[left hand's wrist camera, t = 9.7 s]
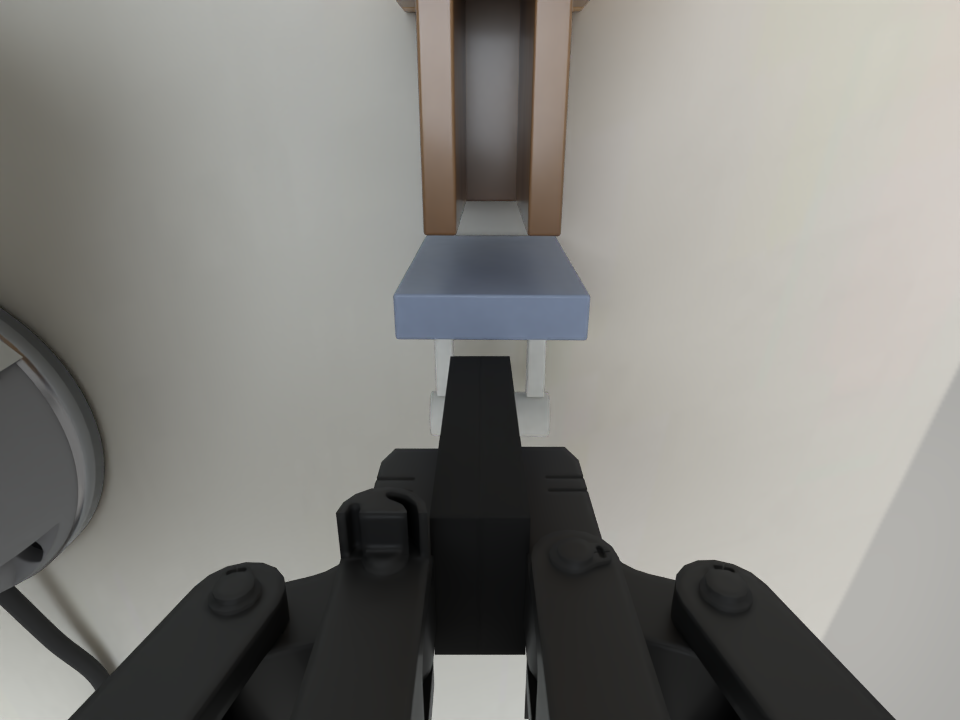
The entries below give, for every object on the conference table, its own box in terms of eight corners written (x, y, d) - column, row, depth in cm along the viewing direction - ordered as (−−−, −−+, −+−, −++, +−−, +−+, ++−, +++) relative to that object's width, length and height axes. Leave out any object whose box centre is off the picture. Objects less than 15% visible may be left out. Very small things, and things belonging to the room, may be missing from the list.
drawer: (548, 390, 24) (574, 510, 17) (431, 389, 24) (405, 509, 17) (588, -421, 15) (686, -949, 8) (403, -420, 15) (320, -941, 8)
